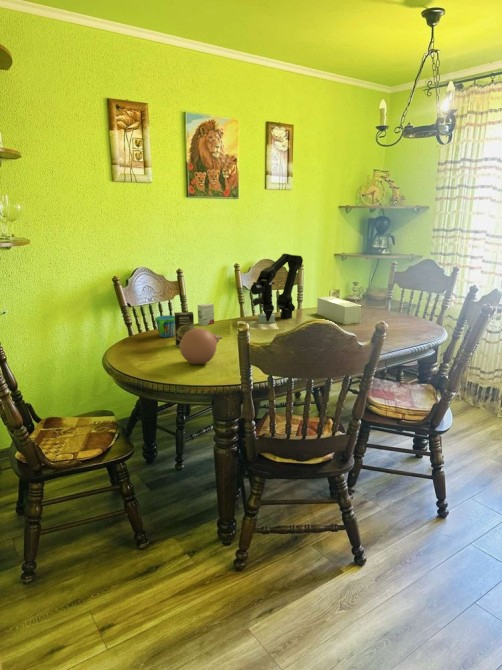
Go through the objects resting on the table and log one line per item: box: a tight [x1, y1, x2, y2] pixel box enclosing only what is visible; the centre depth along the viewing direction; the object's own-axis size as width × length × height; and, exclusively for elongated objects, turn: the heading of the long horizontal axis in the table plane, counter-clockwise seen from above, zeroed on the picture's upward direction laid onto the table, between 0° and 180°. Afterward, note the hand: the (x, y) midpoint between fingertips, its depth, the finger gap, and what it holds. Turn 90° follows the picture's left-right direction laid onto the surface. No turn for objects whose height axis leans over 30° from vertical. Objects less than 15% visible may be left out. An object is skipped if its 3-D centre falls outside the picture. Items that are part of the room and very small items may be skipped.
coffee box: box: [173, 311, 195, 348], centre depth 216 cm, size 9×6×16 cm
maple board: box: [236, 320, 280, 331], centre depth 251 cm, size 22×20×2 cm
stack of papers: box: [316, 295, 362, 325], centre depth 272 cm, size 32×11×11 cm, turn 21°
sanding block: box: [257, 313, 276, 324], centre depth 257 cm, size 9×6×4 cm, turn 94°
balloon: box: [179, 327, 223, 365], centre depth 191 cm, size 15×20×15 cm
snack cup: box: [154, 314, 175, 339], centre depth 234 cm, size 16×10×10 cm
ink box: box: [197, 302, 215, 327], centre depth 259 cm, size 9×5×12 cm, turn 129°
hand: (266, 319), depth 257 cm, fingers open, 9 cm apart
